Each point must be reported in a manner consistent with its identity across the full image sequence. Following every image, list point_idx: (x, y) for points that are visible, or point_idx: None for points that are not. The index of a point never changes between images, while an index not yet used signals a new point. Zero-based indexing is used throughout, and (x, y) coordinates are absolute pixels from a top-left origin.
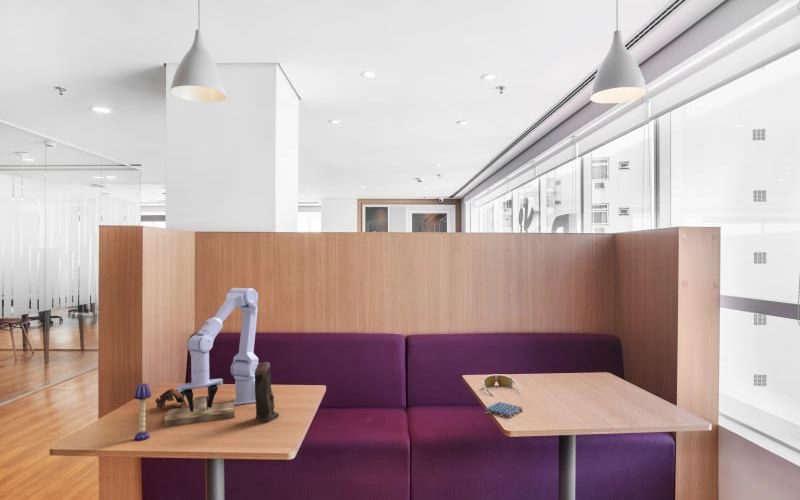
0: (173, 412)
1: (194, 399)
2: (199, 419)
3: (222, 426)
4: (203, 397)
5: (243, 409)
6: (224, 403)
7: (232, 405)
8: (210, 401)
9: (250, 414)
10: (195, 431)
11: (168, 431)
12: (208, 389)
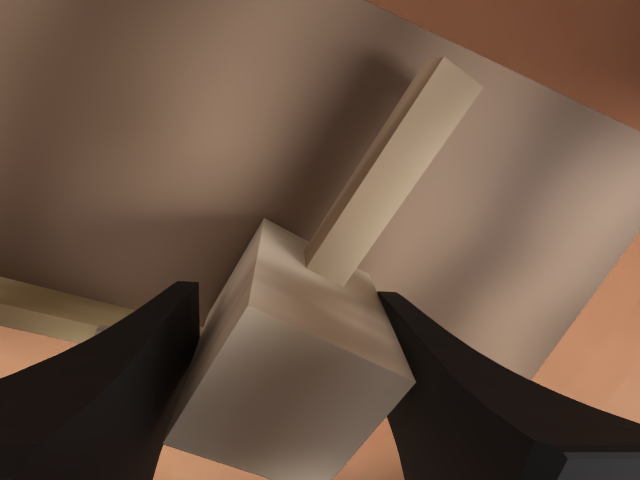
0: (3, 38)
1: (191, 419)
2: None
3: (353, 468)
4: (332, 409)
5: (632, 261)
6: (598, 139)
7: (597, 264)
8: (390, 412)
9: (582, 386)
10: (194, 458)
11: (16, 369)
12: (478, 464)
